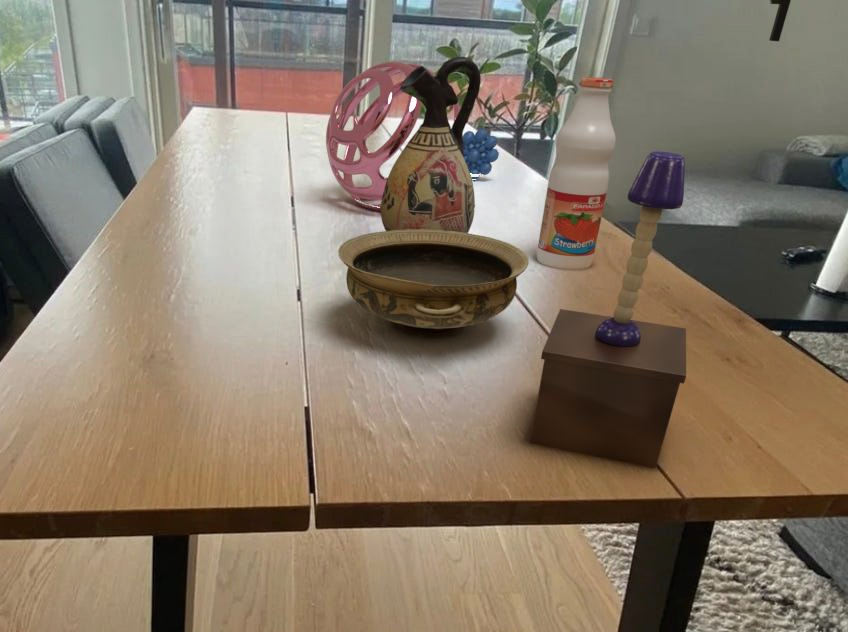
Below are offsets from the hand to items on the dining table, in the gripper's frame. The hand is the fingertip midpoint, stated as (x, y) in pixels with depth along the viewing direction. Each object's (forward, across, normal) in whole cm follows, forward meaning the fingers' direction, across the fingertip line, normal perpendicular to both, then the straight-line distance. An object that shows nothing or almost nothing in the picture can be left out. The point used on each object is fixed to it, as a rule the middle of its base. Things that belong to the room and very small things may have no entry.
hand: (842, 45), depth 82 cm
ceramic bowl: (+35, +40, +11) cm, 54 cm away
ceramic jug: (+35, +49, -22) cm, 64 cm away
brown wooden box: (+35, +16, +32) cm, 50 cm away
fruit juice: (+35, +27, -29) cm, 53 cm away
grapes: (+35, +57, -90) cm, 113 cm away
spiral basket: (+35, +67, -52) cm, 92 cm away
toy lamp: (+25, +16, +31) cm, 43 cm away
